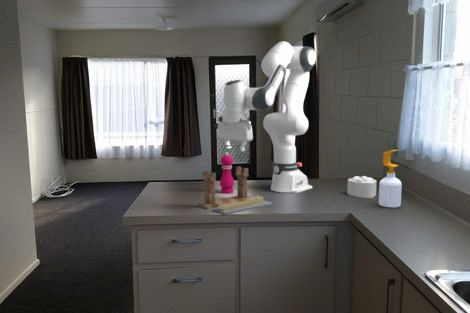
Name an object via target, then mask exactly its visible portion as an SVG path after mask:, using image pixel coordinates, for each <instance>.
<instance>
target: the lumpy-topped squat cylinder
mask: <svg viewBox="0 0 470 313" xmlns="http://www.w3.org/2000/svg"><path fill="white" fill-rule="evenodd" d="M346 190H347V195H349V196H352V197H356V198H363V199H364V198H365V199H366V198H367V199H374V198H375V197H376V196H377V179H374V178H373V177H370V176H369V177H368V176H365V175H362V176H358V175H355V176H353V177H351V178H348V179H347V189H346Z"/></svg>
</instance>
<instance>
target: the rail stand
mask: <svg viewBox="0 0 470 313" xmlns="http://www.w3.org/2000/svg"><path fill="white" fill-rule="evenodd" d="M202 174H203V176H202V180H203V181H204V201H202V202H198V206H199V207H201V208H204V209H207V210H210V209H213V208H218V207H219V204H220V203H225V202H230V201H235V200H240V199H245V198H251V197H252V196H249V195H248V180H247V179H248V177H249V168H248V167H245V168H242V167H241V166H236V167H235V176H236V179H237V182H236V184H237V186H236V187H237V189H236V191H237V192H236V194H237V195H236V196H235V195H234V196H230V197H229V196H228V197H224V198H219V199H215V198H216V197H215V196H216V195H215V194H216V193H215V192H216V191H215V189H216V188H215V187H216V186H215V183H216V182H217V175H216V174H217V173H216V172H210V171H209V170H205V171H202Z"/></svg>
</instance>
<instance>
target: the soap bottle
mask: <svg viewBox="0 0 470 313" xmlns="http://www.w3.org/2000/svg"><path fill="white" fill-rule="evenodd" d="M397 151H398V149H390V150H387V151H385V152H383V156H382V164H383V166H385V167H387V168H388V170H387V171H386V176H385V177H384V178H382V179H381V180H380V181H379V185H378V186H379V189H378V205H379V206H380V207H384V208H388V209H389V208H390V209H391V208H395V209H396V208H399V207H401V205H402V204H401V203H402V190H403V189H402V186H403V184H402V181H401V180H400V179H399V178H397V177H396V171H394V169H395V168H397V167H399V165H398V164H393V163H391V156H392V153H393V152H397Z"/></svg>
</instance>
